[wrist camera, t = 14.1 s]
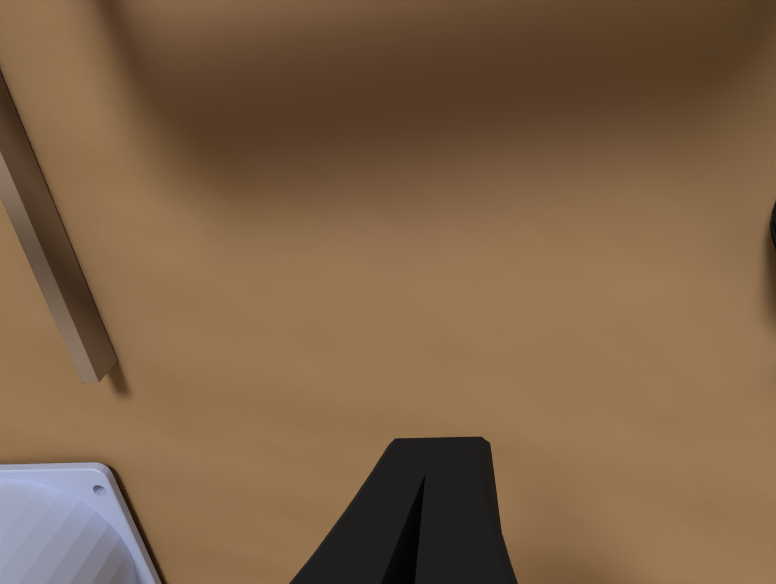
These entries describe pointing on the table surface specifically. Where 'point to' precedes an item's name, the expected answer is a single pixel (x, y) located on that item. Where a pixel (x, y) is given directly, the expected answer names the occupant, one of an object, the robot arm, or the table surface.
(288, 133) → the table surface
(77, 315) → the track
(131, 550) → the robot arm
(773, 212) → the smartwatch
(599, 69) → the table surface
